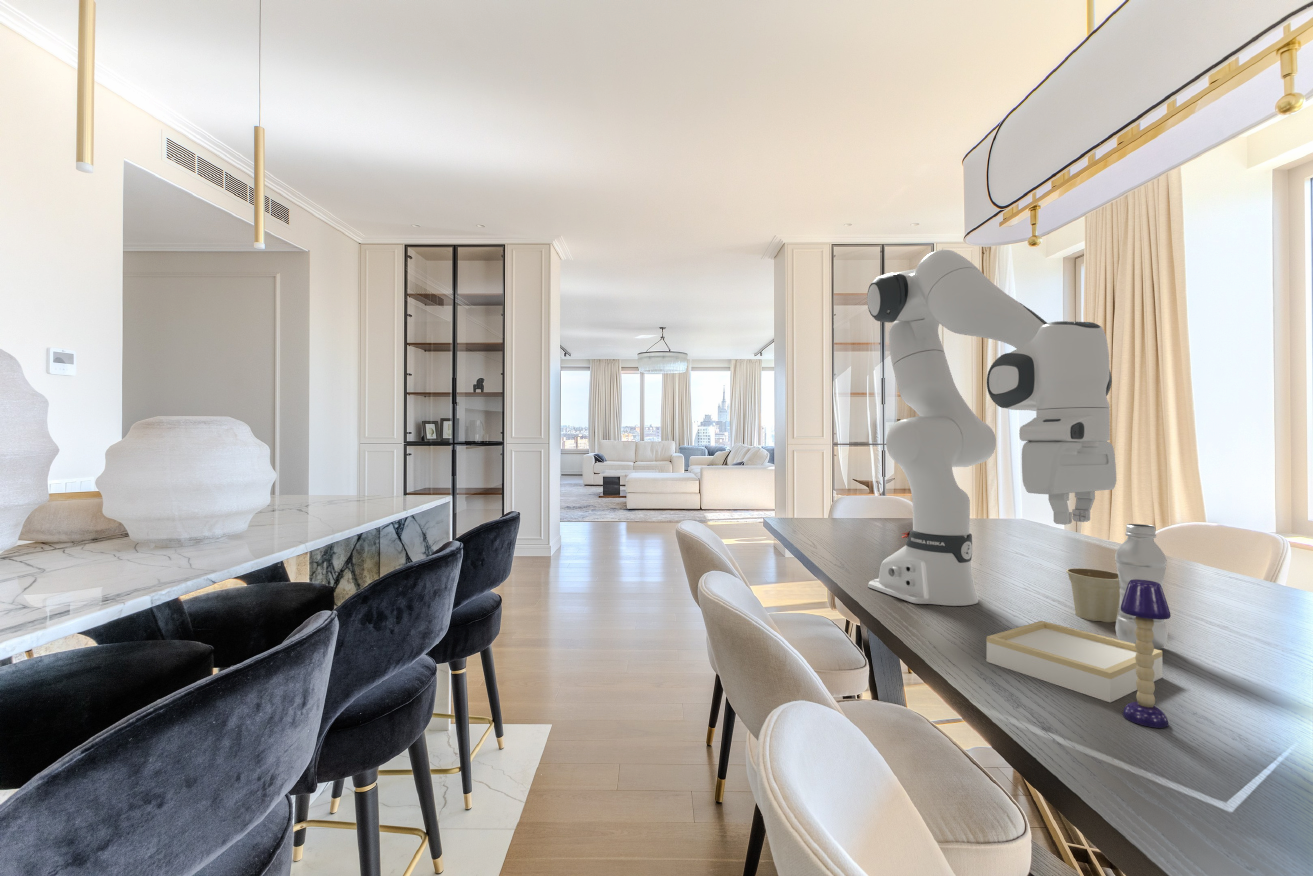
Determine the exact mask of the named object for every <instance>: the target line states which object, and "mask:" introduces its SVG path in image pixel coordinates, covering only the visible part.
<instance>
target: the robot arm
mask: <svg viewBox="0 0 1313 876" xmlns="http://www.w3.org/2000/svg"><path fill="white" fill-rule="evenodd" d="M866 300H867V308H868V309H867V310H868V312H869V313H870V316H871V317H872V318H873V319H874V320H875V321H877V322H881V323H891V326H890V328H889V330H888V346H889V347H888V348H889V356H890V360H891V365H892V369H893V373H894V377H895V380H896V384H897V388H898V392H899V396H900V398H901V400H902V401H903V402H904V403H905V404H906V405H907V406H909V407H910V408H911V409H913V410H914V412H916V414H917V416H914V417H909V418H905V419H901V420H898V421H896V422H894V423H893V424H892V425H891V426H890V428H889V430H888V432H887V434H886V440H885V446H886V449H887V453H888V455H889V457H890V458H891V460H893V461H894V462H895V463H896V464H897V465H898V466H899V467H900V469H901V470H902V471H903V473H904V475H905V478H906V479H907V482H908V485H909V488H910V494H911V501H912V503H911V504H912V529H911V530H909V531H907V532H902V533H901V535H902V536H901V538H902V539H906V538H907V540H906V542H905V545H904V546H903V547H901V548H900V549H899V550H896V551H895V552H894V553H892V554H891V555H889V556H888V557H886V558H885V559H884V560H883V561H882V562H881V564H880V567H879V573H878V575H879V576H878V578H875V579H872V580H869V582H868V584H867V587H868V588H870V589H873V590H876V591H878V592H881V593H883V594H887V595H889V596H893V597H895V598H898V599H900V600H904V601H907V602H910V603H913V604H919V605H927V604H928V605H938V606H940V605H941V606H948V607H949V606H952V607H957V606H958V607H960V606H961V607H963V606H964V607H965V606H972V605H975V604H978V603H979V602H980V601H979V597H978V595H977V591H976V588H975V583H974V578H973V577H974V576H973V570H972V556H973V534H972V533H971V526H970V525H971V523H970V521H971V500H970V497H969V495H968V494H967V492H966V491H965V490H963V489H962V488H961V487H960V486H959V485H958V483H957V481H956V478H955V476H954V471H953V468H967V467H971V466H972V467H973V466H975V465H978V464H981V463H984V462H986V461H988V460H989V459H990V458H991V457H992V456H993V454H994V452H995V450H996V446H997V438H996V435H995V432H994V430H993V429H992V428H991V426H990V425H989V424H987V423H986V422H984V421H983V420H982V419H980V418H979V417H978V416H977V415H976V414H975V413H974V411H973V410H972V409H971V407H970V406H969V405H968V403H967V401H966V400H965V399H964V398H963V396H962V394H961V393H960V391H959V389H958V388H957V386H956V383H955V380H954V378H953V375H952V373H951V369H950V367H949V366H950V365H949V364H948V363H949V362H948V360H947V356H946V353H945V349H944V347H943V344H942V341H941V339H940V335H939V326H940V325H941V326H943V327H944V328H945V329H946V330H948V331H949V332H952V333H954V334H959V335H962V336H963V335H964V336H970V337H976V338H981V339H982V338H983V339H989V340H993V341H998V342H1001V343H1003V344H1007V345H1010V346H1011V347H1014V350H1013V351H1010V352H1005V353H1003V354H1001V355H1000V356H999V357H997V358H996V359H995V360H994V361H993V363H992V364H991V366H990V367H989V370H988V372H987V376H986V389H987V393H988V396H989V397H990V399H991V400H992V402H993V403H994V404H995V405H996V406H998V407H999V408H1001V409H1007V410H1011V411H1012V410H1013V411H1032V412H1033V411H1034V412H1036V413H1035V414H1036V417H1034V418H1032V419H1031V420H1030V421H1029V422H1027V423H1025V424H1022V425H1021V426H1020V427H1019V433H1018V434H1019V439H1020V441H1021V442H1024V443H1023V444H1022V449H1021V477H1022V484H1023V485H1022V486H1023V487H1024V489H1025V491H1026V492H1027V493H1028V494H1036V495H1048V503H1049V505H1050V508H1051V509H1052V512H1053V523H1054V524H1056V525H1066V526H1067V525H1069V524H1070V525H1071V524H1072V522H1073V521H1074V522H1080V523H1086V522H1090V521H1091V510H1092V508H1093V505H1094V502H1095V499H1096V492H1097V491H1098V492H1099V491H1101V492H1102V491H1111V490H1114V489H1115V487H1116V484H1117V467H1116V465H1117V464H1116V454H1115V448H1114V447H1113V446H1114V445H1113V443H1111V442H1110V440H1111V439H1110V438H1111V436H1110V435H1111V434H1110V432H1111V431H1110V430H1111V429H1110V427H1111V425H1110V423H1111V422H1110V415H1111V414H1110V411H1111V409H1110V403H1109V401H1108V397H1107V396H1108V395H1109V394H1110V391H1111V388H1112V384H1113V383H1112V382H1113V381H1112V379H1113V378H1112V377H1113V376H1112V372H1111V369H1110V352H1109V345H1108V338H1107V335H1106V332H1105V330H1104V329H1103V327H1102V325H1100V324H1097V323H1096V322H1091V321H1076V320H1075V321H1067V320H1066V321H1065V320H1064V321H1063V320H1062V321H1050V322H1048V321H1046V320H1044V319H1043V318H1042V317H1041V316H1039V314H1037V313H1036V312H1034V311H1033V310H1031V309H1030V308H1029V307H1027V306H1025V305H1024V304H1022V303H1021V302H1020V301H1018V300H1016V299H1015V298H1013V297H1012V296H1010V295H1009V294H1008V293H1006V292H1005V291H1004V290H1003V289H1001V288H999V287H998V286H997V285H996V284H995V283H993V282H992V280H991V279H989V278H988V277H987V276H986V275H985V274H984V273H983V272H982V271H981V270H980V269H979V268H978V267H977V266H976V265H975V264H974V263H972V262H971V261H970V260H968V258H967V257H965V256H963V255H961V254H960V253H958V252H956V251H954V250H951V249H939V250H935V251H932V252H930V253H928V254H927V255H926V256H924V257H923V258H922V259H921V260H920V261H919V263H918V264H917V266H916V268H914V269H908V270H903V271H897V272H888V273H886V274H882V275H880V276H876V277H875V278H874V279H873V281H871V283H870V285H869V287H868V290H867V296H866ZM1070 494H1074V498H1076V500H1075V506H1074V508H1073V509H1072V510H1071V511H1070V509H1069V504H1068V502H1069V501H1070Z"/></svg>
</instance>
